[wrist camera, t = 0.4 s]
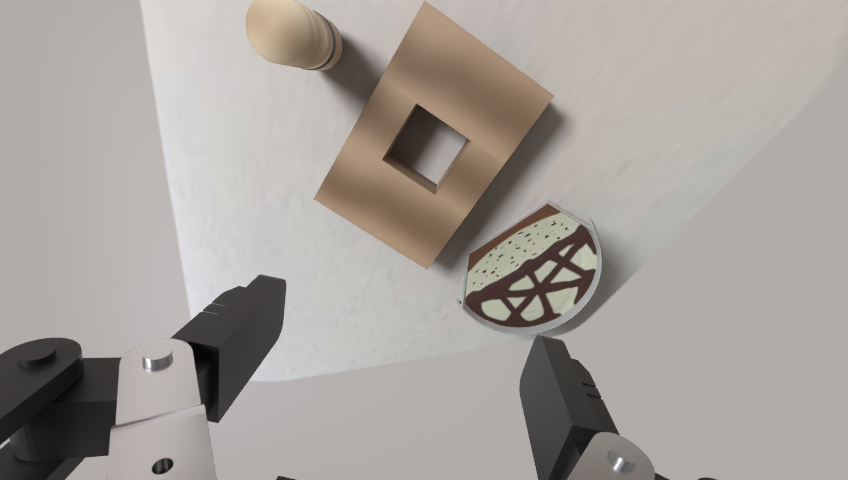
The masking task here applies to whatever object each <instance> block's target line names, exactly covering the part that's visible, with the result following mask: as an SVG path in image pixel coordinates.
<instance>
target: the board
mask: <svg viewBox="0 0 848 480" xmlns="http://www.w3.org/2000/svg"><path fill="white" fill-rule="evenodd" d="M553 97H554V95H553V94H551V93H550V92H549V91H547V90H546V89H545V88H543V87H542V86H540V85H539V84H538V83H536V82H535V81H534V80H532V79H531V78H530V77H528V76H527V75H525V74H524V73H523V72H521V71H520V70H519V69H517V68H516V67H515V66H513V65H512V64H510V63H509V62H508V61H506V60H505V59H504V58H502V57H501V56H500V55H498V54H497V53H496V52H494V51H493V50H491V49H490V48H489V47H487V46H486V45H485V44H483V43H482V42H481V41H479V40H478V39H476V38H475V37H474V36H472V35H471V34H470V33H468V32H467V31H466V30H464V29H463V28H461V27H460V26H459V25H457V24H456V23H455V22H453V21H452V20H451V19H449V18H448V17H447V16H445V15H444V14H442V13H441V12H440V11H438V10H437V9H436V8H434V7H433V6H432V5H430V4H429V3H427V2H426V1H424V2H423V4H422V6H421V8H420V9H419V11H418V13H417V15H416V17H415V18H414V20H413V22H412V24H411V26H410V27H409V29H408V31H407V33H406V35H405V36H404V38H403V40H402V42H401V43H400V45H399V47H398V49H397V51H396V52H395V54H394V56H393V58H392V60H391V61H390V63H389V65H388V67H387V69H386V70H385V72H384V74H383V76H382V77H381V79H380V81H379V83H378V85H377V86H376V88H375V90H374V92H373V94H372V95H371V97H370V99H369V101H368V103H367V104H366V106H365V108H364V110H363V112H362V113H361V115H360V117H359V119H358V120H357V122H356V124H355V126H354V128H353V129H352V131H351V133H350V135H349V137H348V138H347V140H346V142H345V144H344V146H343V147H342V149H341V151H340V153H339V154H338V156H337V158H336V160H335V162H334V163H333V165H332V167H331V169H330V171H329V172H328V174H327V176H326V178H325V180H324V181H323V183H322V185H321V187H320V189H319V190H318V192H317V194H316V196H315V197H314V200H316V201H318V202H319V203H321V204H322V205H324V206H326V207H327V208H329V209H330V210H332V211H334V212H335V213H337V214H339V215H340V216H342V217H343V218H345V219H347V220H348V221H350V222H351V223H353V224H355V225H356V226H358V227H359V228H361V229H363V230H364V231H366V232H367V233H369V234H371V235H372V236H374V237H375V238H377V239H379V240H380V241H382V242H384V243H385V244H387V245H388V246H390V247H392V248H393V249H395V250H396V251H398V252H400V253H401V254H403V255H404V256H406V257H408V258H409V259H411V260H412V261H414V262H416V263H417V264H419V265H420V266H422V267H424V268H425V269H428V268H429V267H430V265H431V264H432V262H433V261H434V260H435V258H436V257H437V256H438V254H439V253H440V252H441V250H442V249H443V247H444V246H445V245H446V243H447V242H448V241H449V239H450V238H451V236H452V235H453V234H454V232H455V231H456V230H457V228H458V227H459V226H460V224H461V223H462V221H463V220H464V219H465V217H466V216H467V215H468V213H469V212H470V211H471V209H472V208H473V206H474V205H475V204H476V202H477V201H478V200H479V198H480V197H481V195H482V194H483V193H484V191H485V190H486V189H487V187H488V186H489V185H490V183H491V182H492V180H493V179H494V178H495V176H496V175H497V174H498V172H499V171H500V169H501V168H502V167H503V165H504V164H505V163H506V161H507V160H508V159H509V157H510V156H511V154H512V153H513V152H514V150H515V149H516V148H517V146H518V145H519V143H520V142H521V141H522V139H523V138H524V137H525V135H526V134H527V133H528V131H529V130H530V128H531V127H532V126H533V124H534V123H535V122H536V120H537V119H538V117H539V116H540V115H541V113H542V112H543V111H544V109H545V108H546V107H547V105H548V104H549V102H550V101H551V100H552V98H553ZM418 105H420V106H421V107H423V108H424V109H426V110H427V111H429V112H430V113H431V114H433V115H434V116H436V117H437V118H439V119H440V120H442V121H443V122H445V123H446V124H447V125H449V126H450V127H452V128H453V129H455V130H456V131H458V132H459V133H460V134H462V135H463V136H465V137H466V138H468V140H467V141H466V143H465V144H464V146H463V147H462V149H461V150H460V152H459V153H458V154H457V156H456V157H455V159H454V160H453V162H452V163H451V165H450V166H449V168H448V169H447V171H446V172H445V174H444V175H443V177H442V178H441V180H440V181H439V183H438V184H437V185H436V184H435V183H433V182H432V181H430V180H429V179H427V178H426V177H424V176H423V175H421V174H420V173H418V172H417V171H415V170H414V169H412V168H411V167H409V166H408V165H406V164H405V163H403V162H402V161H400V160H399V159H397V158H395V157H394V156H392V155H391V154H389V152H390V151H391V149H392V147H393V146H394V144H395V142H396V141H397V139H398V137H399V136H400V134H401V133H402V131H403V129H404V128H405V126H406V124H407V123H408V121H409V119H410V118H411V116H412V114H413V113H414V111H415V110H416V108H417V106H418Z"/></svg>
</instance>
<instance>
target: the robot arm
mask: <svg viewBox="0 0 848 480" xmlns="http://www.w3.org/2000/svg"><path fill="white" fill-rule="evenodd" d="M285 295H286V281H285V280H284V279H279V278H275V277H270V276H266V275H259V276H258V277H257V278H255V279H254V280H253V281H252V282H251V283H250V284H249V285H248V286H247V287H246V288H245V287H240V286H238V287H236V288H233V289H231V290H228V291H226V292H224V293H222V294H221V295H220V296H219V297H217V298H216V299H215V300H214V301H213V302H212V304H209V305H208V306H207V307H206V308H205V309H204V310H203V312H200V313H199V314H198V315H197V316H196V317H194V318H193V319H192V320H191V321H190V322H189V323H187V324H186V325H185V326H184V327H183V328H182V329H181V330H179V331H178V332H177V333H176V334H175V335H174V336H172V337H171V338H170V339H156V340H151V341H147V342H144V343H142V344H139V345H137V346H135V347H133V348H132V349H130V350H129V351H128V352H126V353H125V354H124V356H123V357H121V358H83V357H82V350H81V346H80V345H79V344H78V343H77V342H76V341H73V340H71V339H66V338H45V339H39V340H35V341H30V342H26V343H24V344H21V345H18V346H15V347H13V348H11V349H9V350H7V351H6V352H4V353H2V354H0V445H1V444H2V443H3V442H4V441H6V440H7V439H8V438H9V439H10V442H8V443H7V444H6V445H5V446H4V447H3V448H1V449H0V480H65V479H66V478H67V477H68V476H69V475H70V473H71V472H72V471H73V470H74V469H75V468H76V467H77V466H78V465H79V464H80V463H81V462H82V461H83V459H84V458H85V457H96V456H107V455H109V458H108V471H107V480H217V477H216V471H215V465H214V458H213V452H212V446H211V441H210V434H209V428H208V423H207V421H211V422H216V423H219V421H220V420H221V418H222V417H223V416H224V414H225V413H226V411H227V410H228V409H229V407H230V406H231V404H232V403H233V401H234V400H235V399H236V397H237V396H238V395H239V393H240V392H241V390H242V389H243V388H244V386H245V385H246V383H247V382H248V381H249V379H250V378H251V376H252V375H253V374H254V372H255V371H256V369H257V368H258V367H259V365H260V364H261V362H262V361H263V360H264V358H265V357H266V355H267V354H268V353H269V351H270V350H271V348H272V347H273V346H274V344H275V343H276V341H277V340H278V338H279V335H280V333H281V330H282V326H283V318H284V307H285ZM520 397H521V402H522V407H523V410H524V416H525V420H526V425H527V429H528V434H529V439H530V443H531V448H532V452H533V457H534V462H535V466H536V470H537V475H538V480H669V479H667V478H664V477H663V476H661V475H659V474H656V473H655V471H654V467H653V465H652V463H651V461H650V460H649V458H648V457H647V456H646V455H645V453H644V452H643V451H642V450H641V449H640V448H639V447H637V446H636V445H635V444H634V443H632V442H631V441H629V440H627V439H626V438H624V437H622V436H620V435H619V433H618V431H617V429H616V427H615V424H614V422H613V420H612V418H611V416H610V414H609V412H608V410H607V408H606V406H605V404H604V402H603V400H602V399H601V396H600V394H599V391H598V390H597V388H596V385H595V383H594V381H593V379H592V377H591V375H590V373H589V372H588V371H587V370H586V369H585V368H584V366H583V365H582V364H581V363H580V362H579V361H578V360H575V359H571V357H570V355H569V353H568V351H567V348H566V346H565V344H564V342H563V341H562V340H559V339H554V338H549V337H545V336H540V335H538V336H537V337H536V338H535V340H534V342H533V345H532V347H531V350H530V353H529V356H528V358H527V361H526V364H525V367H524V369H523V372H522V375H521V379H520ZM277 480H295V479H290V478H286V477H281V476H278V478H277ZM698 480H716V479H712V478H700V479H698Z"/></svg>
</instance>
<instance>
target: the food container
mask: <svg viewBox="0 0 848 480" xmlns="http://www.w3.org/2000/svg"><path fill="white" fill-rule="evenodd" d="M588 219H589V222H590V225H587V224H585V223H584V222H582V221H581V220H579V219H577V218H576V217H574V216H572V215H571V214H569V213H567V212H566V211H564V210H563V209H561V208H559V207H558V206H556V205H554V204H553V203H551V202H549V201H547V202H546V203H544V204H542V205H541V206H539V207H538V208H536V209H535V210H533V211H532V212H530V213H529V214H527V215H526V216H524V217H522V218H521V219H519V220H518V221H516V222H515V223H513V224H512V225H510V226H509V227H507V228H506V229H504V230H502V231H501V232H499V233H498V234H496V235H495V236H493V237H492V238H490V239H489V240H487V241H486V242H484V243H482V244H481V245H479V246H478V247H476V248H475V249H473V250H472V251H470V252H469V253H467V260H466V268H465V277H464V286H463V294H462V303H461V302H460V301H459V300H458V298H457V299H456V301H457V303H458V306H459V307H460V308H461V309H462V310H463V311H464V312H465V313H466V314H467V315H468V316H469V317H471V318H472V319H473V320H474V321H476V322H477V323H479V324H481V325H483V326H484V327H486V328H489V329H491V330H494V331H497V332H501V333H506V334H514V335H527V334H535V333H540V332H544V331H547V330H550V329H553V328H555V327H557V326H559V325H561V324H563V323H565V322H566V321H568V320H569V319H571V318H572V317H574V316H575V315H576V314H577V313H578V312H579V311H581V309H582V308H583V307H584V306H585V305H586V304H587V303H588V301H589V300H590V298H591V297H592V295H593V293H594V292H595V289H596V287H597V285H598V282H599V278H600V274H601V269H602V258H603V256H602V247H601V243H600V239H599V236H598V233H597V230H596V228H595V225H594V223H593V221H592V220H591V218H590V217H588Z"/></svg>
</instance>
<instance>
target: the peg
mask: <svg viewBox="0 0 848 480" xmlns="http://www.w3.org/2000/svg"><path fill="white" fill-rule="evenodd" d="M246 31H247V35H248V38H249V41H250V43H251V45H252V47H253V48H254V50H255V51H256V52H257V53H258V54H259V55H260V56H261V57H262V58H264V59H265V60H267V61H269V62H272V63H275V64H281V65H287V66H293V67H299V68H302V69H306V70H317V71H324V70H328V69H330V68H332V67H333V66H334V65H335V64H336V63H337V62H338V60H339V59H340V57H341V55H342V51H343V45H342V39H341V35H340V33H339V31H338V29H337V28H336V26H335V25H334V24H333V23H332V22H330V21H329V20H327V19H326V18H324V17H323V16H322V15H320V14H319V13H317V12H315V11H313V10H310V9H309V8H307V7H305V6H304V5H302V4H300V3H299V2H297V1H295V0H254V1H253V3H252V4H251V6H250V8H249V10H248V12H247V17H246Z"/></svg>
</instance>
